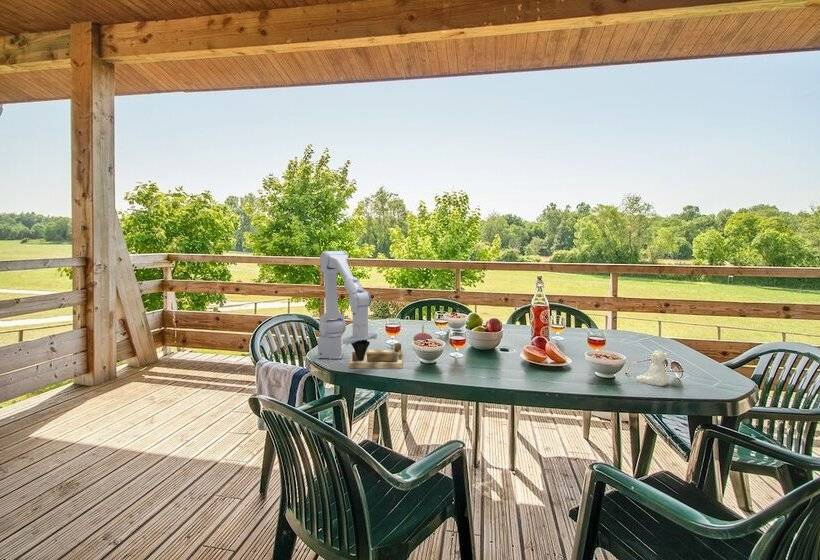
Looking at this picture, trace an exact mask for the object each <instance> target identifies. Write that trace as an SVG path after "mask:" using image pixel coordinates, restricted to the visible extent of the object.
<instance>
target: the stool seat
mask: <svg viewBox="0 0 820 560" xmlns="http://www.w3.org/2000/svg"><path fill="white" fill-rule="evenodd" d="M367 352H397V353H398V360H397V361H367ZM403 353H404V352H403V349H402V343H399V342H398V343H396V342H395V343H394V348H393V349H367V350H366V353H365V356H364V360H363V361H358V360H357V356H356V353H355V351H353V352H351V358H350V361H349V365H348V366H349V367H348V368H349V369H397V370H398V369H400V368H402V369H403V357H404V356H403Z"/></svg>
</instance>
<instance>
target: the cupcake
mask: <svg viewBox="0 0 820 560" xmlns="http://www.w3.org/2000/svg"><path fill="white" fill-rule="evenodd" d="M424 327H425V326H424V324H422V325H421V328H422V329H421V332H419V333H417V334H415V335H414V336H413V339H412V340H413V341H414V342H415V341H417V340H426V339H432V340H433V336H432V335H431V334H428V333H425V332H424V329H425V328H424Z"/></svg>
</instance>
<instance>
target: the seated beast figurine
mask: <svg viewBox="0 0 820 560" xmlns="http://www.w3.org/2000/svg"><path fill="white" fill-rule="evenodd" d="M653 351H654V352H653V353H652V354H651V356H650V358H649V359H650V360H651V364H650V365H649V367H648V368H649V370H648V373H647V374H644V375H643V374H640V375H637V376H636V378H635V379H636V382H637V383H641V384H647V385H651V386H656V387H664V386H666V385H668V383H669V376H668V373H667V371H666V366H665V364H664V362H665V360H666V358H667V357H668V356H669V353H668V352H664V351H662V350H661V349H655V350H653Z"/></svg>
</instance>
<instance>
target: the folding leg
mask: <svg viewBox="0 0 820 560" xmlns="http://www.w3.org/2000/svg"><path fill="white" fill-rule="evenodd" d="M397 360H398V353H397V352H367V361H397Z"/></svg>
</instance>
